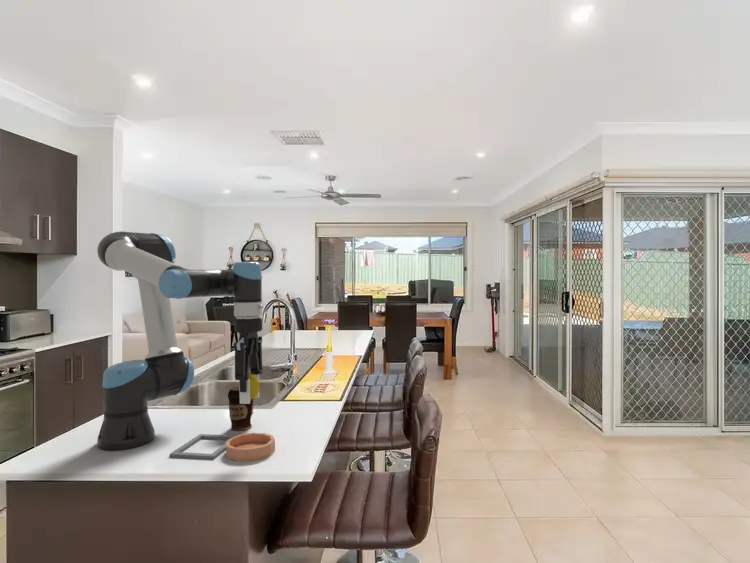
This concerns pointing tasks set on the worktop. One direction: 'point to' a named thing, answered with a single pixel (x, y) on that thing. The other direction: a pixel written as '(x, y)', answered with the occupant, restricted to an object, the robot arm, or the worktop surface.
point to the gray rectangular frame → (215, 454)
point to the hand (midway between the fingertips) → (249, 400)
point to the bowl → (250, 446)
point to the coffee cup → (239, 410)
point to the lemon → (253, 386)
